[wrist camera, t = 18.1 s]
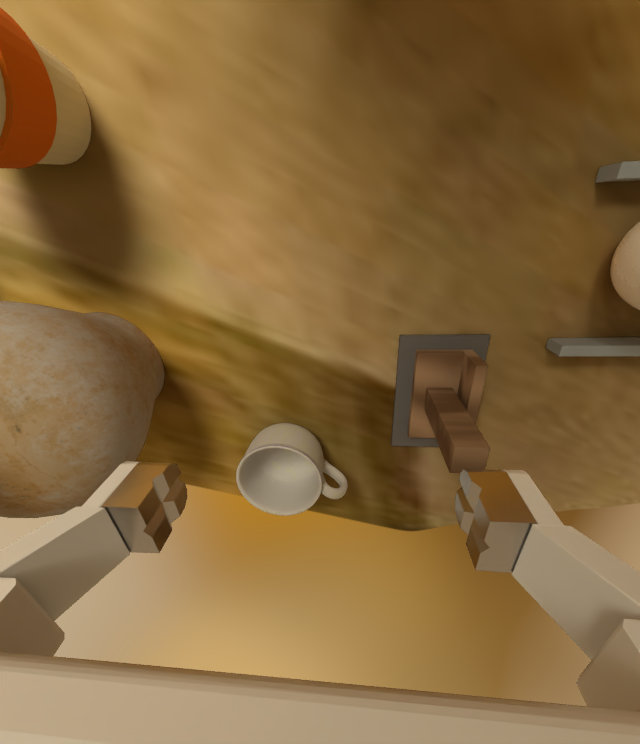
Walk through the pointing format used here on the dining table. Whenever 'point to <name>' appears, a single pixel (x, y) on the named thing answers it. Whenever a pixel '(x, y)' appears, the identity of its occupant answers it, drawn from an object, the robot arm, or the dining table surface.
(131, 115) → the dining table surface
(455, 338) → the mat
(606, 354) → the frame
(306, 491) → the teacup
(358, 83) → the dining table surface
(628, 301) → the lidded jar
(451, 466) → the scraper
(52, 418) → the vase
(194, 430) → the dining table surface
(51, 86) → the reusable coffee cup
